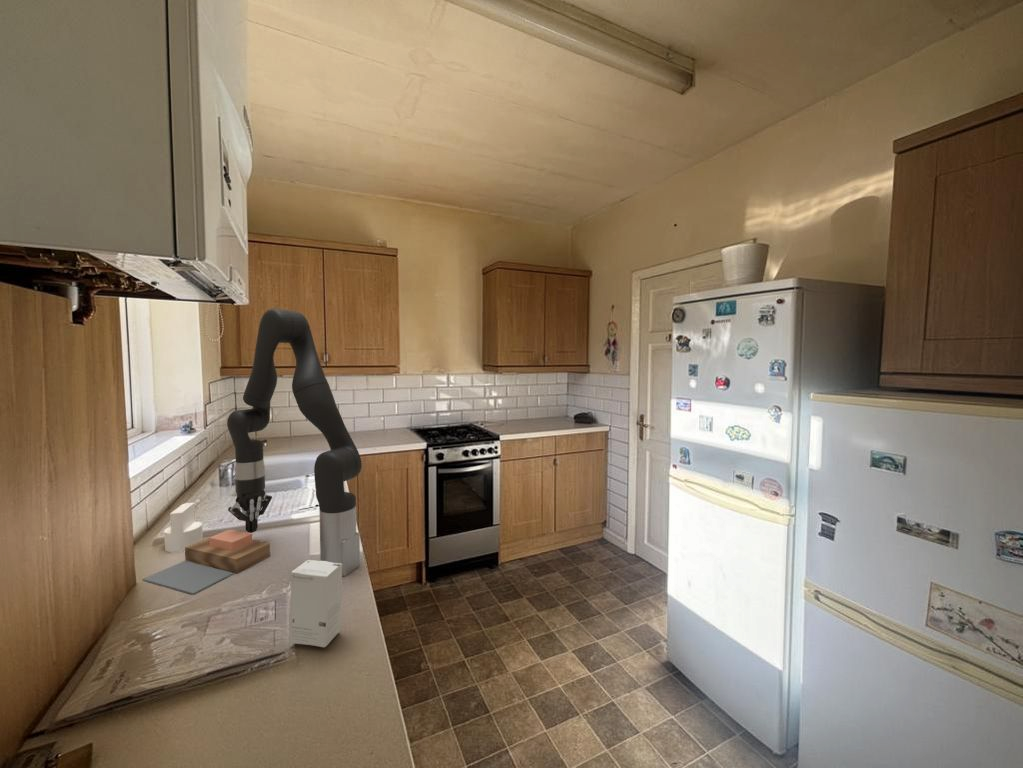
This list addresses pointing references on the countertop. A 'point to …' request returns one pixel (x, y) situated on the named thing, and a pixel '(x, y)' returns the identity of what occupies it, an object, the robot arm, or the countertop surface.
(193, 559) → the deck
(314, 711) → the countertop surface
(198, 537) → the base with upright slab
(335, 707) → the countertop surface
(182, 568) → the mat
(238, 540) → the salmon pink flat block
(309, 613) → the skincare box
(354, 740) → the countertop surface
